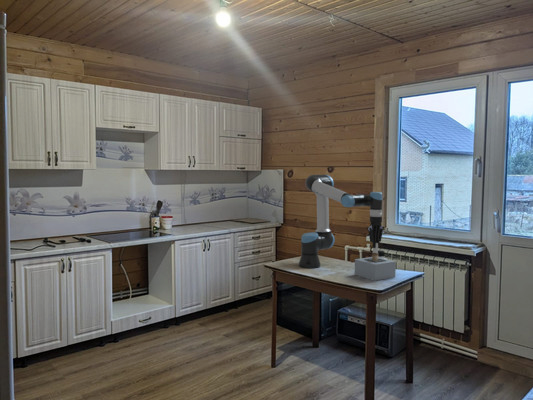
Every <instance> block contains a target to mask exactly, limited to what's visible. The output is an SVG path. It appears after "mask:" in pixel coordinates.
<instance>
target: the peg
mask: <svg viewBox="0 0 533 400" xmlns="http://www.w3.org/2000/svg"><path fill="white" fill-rule="evenodd" d="M378 254H379V253H373V252H371V257H372V261H378Z"/></svg>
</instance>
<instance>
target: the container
mask: <svg viewBox="0 0 533 400" xmlns="http://www.w3.org/2000/svg"><path fill="white" fill-rule="evenodd" d="M378 253H379V254H378V257H379V258H383V259H387V260H389V259H388V258H386V256H385V255H386V251H384V250H380V249H378Z"/></svg>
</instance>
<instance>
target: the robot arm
mask: <svg viewBox="0 0 533 400" xmlns="http://www.w3.org/2000/svg"><path fill="white" fill-rule="evenodd" d="M304 184H305V188H306V189H307V190H308V191H310V192H312V193H314V195H315V196H316V230H314V232H311V231H310V232H305V233H303V234H302V235H301V238H300V239H301V244H300V245H301V248H300V249H301V251H300V252H301V254H300V255H301V256H300V257H299V261H298V266H299V267H300V268H304V269H316V268H321V262H320V258H319V251H322V250H328V249H331V248H332V247H333V246H334V244H335V236H334V234H333V233H332V230H331V229H330V211H329V209H330V207H329V206H330V205H329V204H330V203H329V201H330V200H329V199H331V200H333V201H334V202H335V201H336V202H338V203H340V204H341V205H342V206H343V207H344V208H354V207H369V223H370V225H369V227H367V232H368V236H369V237H368V238H369V243H372V253H378V250H379V244H380V243H381V242H382V237H383V231H384V229H385V226H382V223H383V217H382V216H383V200H384V199H383V193H382V192H381V191H370V194H360V193H359V194H351V193H348V192H346V191H344V190H341V189H339V188H336V187H334V185H335V182H334V179H333V177H331V176H330V175H328V174H311V175H308V176H307V177H306V179H305V183H304Z"/></svg>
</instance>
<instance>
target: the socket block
mask: <svg viewBox="0 0 533 400" xmlns="http://www.w3.org/2000/svg"><path fill="white" fill-rule="evenodd" d="M387 259H388V258H386V259H383V258H379V257H378V261H372V256H369V257H363V258H355V259H354V276H359V277H360V278H361V277H362V278H364V279H368V280H372V281H375V282H376V281H381V280H385V279H392V278H396V269H397V268H396V263H397V262H396V260H391V259H388V260H387Z"/></svg>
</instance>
